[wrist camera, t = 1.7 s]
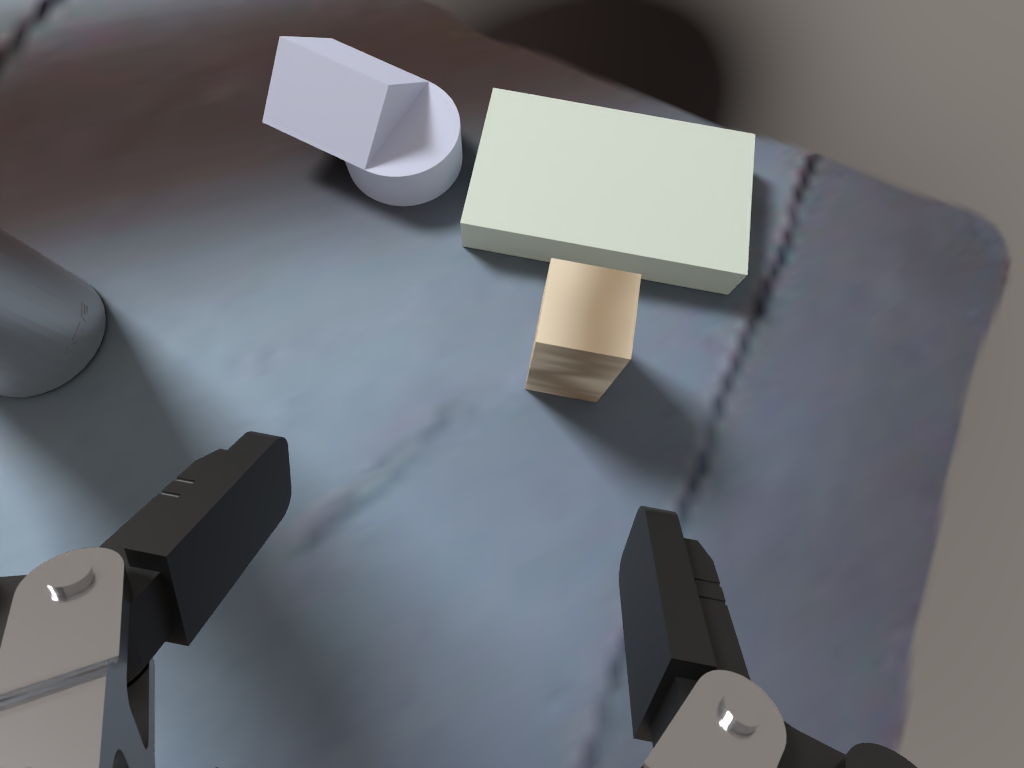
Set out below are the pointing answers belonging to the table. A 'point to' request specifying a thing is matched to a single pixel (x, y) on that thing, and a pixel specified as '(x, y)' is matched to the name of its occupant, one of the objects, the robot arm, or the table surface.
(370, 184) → the wedge on round base
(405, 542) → the table surface
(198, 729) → the table surface
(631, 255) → the sage board
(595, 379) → the birch block
